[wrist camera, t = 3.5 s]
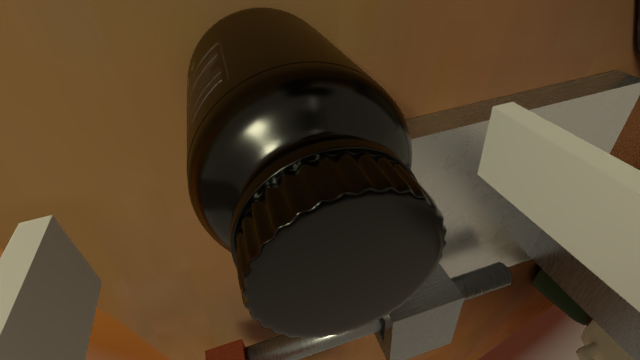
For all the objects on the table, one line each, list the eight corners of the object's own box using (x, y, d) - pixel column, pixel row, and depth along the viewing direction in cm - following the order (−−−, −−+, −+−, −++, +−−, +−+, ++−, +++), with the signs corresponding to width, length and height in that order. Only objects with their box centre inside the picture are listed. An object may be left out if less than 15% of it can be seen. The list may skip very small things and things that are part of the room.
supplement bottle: (349, 28, 17) (551, 168, 8) (306, 151, 20) (410, 351, 11) (197, -22, 14) (228, 109, 5) (175, 132, 17) (169, 383, 8)
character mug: (502, 298, 39) (610, 428, 30) (517, 257, 35) (650, 394, 25) (583, 267, 41) (710, 380, 31) (607, 225, 37) (764, 340, 27)
